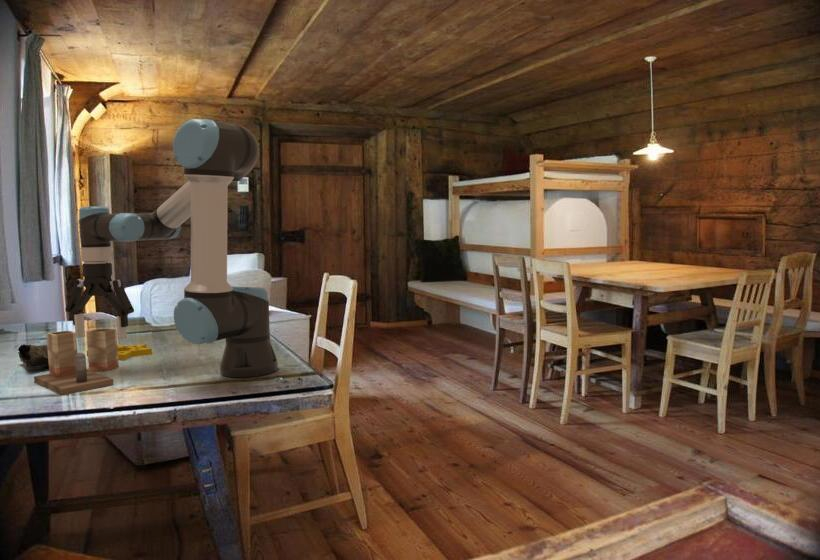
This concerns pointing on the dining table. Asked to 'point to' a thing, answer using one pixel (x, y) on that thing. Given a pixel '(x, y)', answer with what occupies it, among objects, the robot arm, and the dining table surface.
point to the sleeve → (102, 349)
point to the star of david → (132, 351)
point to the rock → (33, 355)
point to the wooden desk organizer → (68, 366)
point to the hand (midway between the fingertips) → (101, 337)
